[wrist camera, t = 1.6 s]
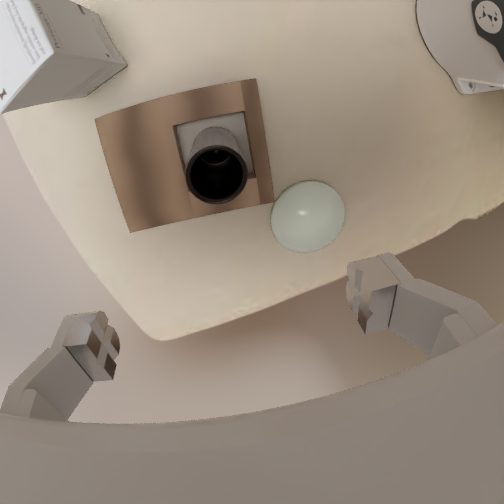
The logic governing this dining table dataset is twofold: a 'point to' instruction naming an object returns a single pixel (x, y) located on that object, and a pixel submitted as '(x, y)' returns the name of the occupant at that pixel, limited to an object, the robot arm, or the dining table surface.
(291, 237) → the saucer
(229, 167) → the grey cylinder
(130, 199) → the pocket board
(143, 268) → the dining table surface
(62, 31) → the skincare box
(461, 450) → the robot arm
